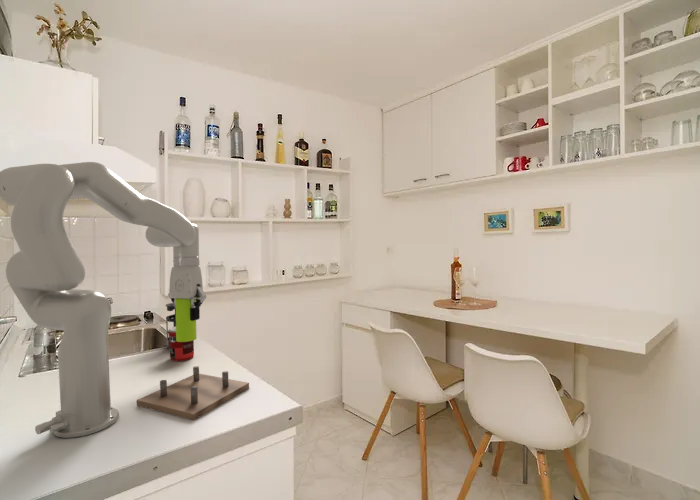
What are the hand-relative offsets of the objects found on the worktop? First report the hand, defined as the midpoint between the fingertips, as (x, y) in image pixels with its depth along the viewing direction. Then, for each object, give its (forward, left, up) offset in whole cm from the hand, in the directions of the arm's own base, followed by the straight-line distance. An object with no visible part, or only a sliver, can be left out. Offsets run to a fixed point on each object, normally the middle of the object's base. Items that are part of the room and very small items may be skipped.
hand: (187, 318), depth 119 cm
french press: (+21, +28, -18) cm, 39 cm away
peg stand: (-12, -16, -17) cm, 27 cm away
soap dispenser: (0, 0, -7) cm, 7 cm away
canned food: (+10, +14, -18) cm, 25 cm away
